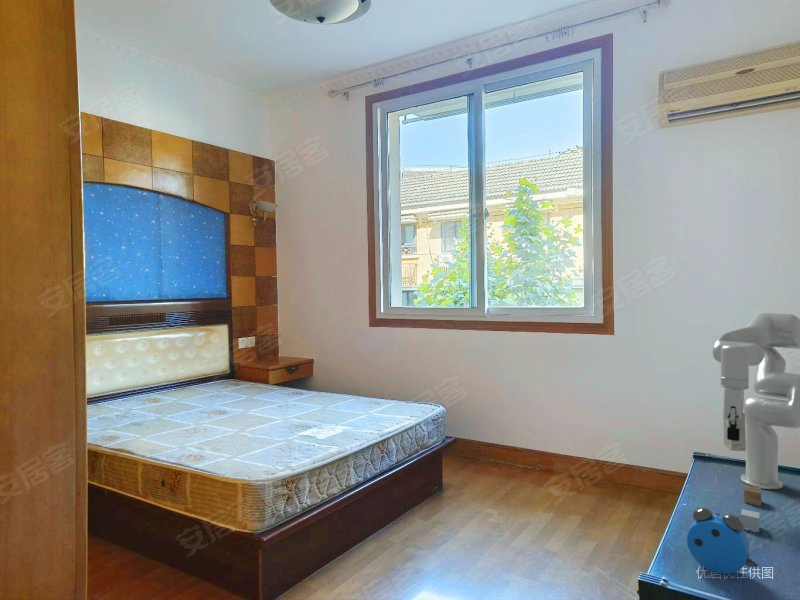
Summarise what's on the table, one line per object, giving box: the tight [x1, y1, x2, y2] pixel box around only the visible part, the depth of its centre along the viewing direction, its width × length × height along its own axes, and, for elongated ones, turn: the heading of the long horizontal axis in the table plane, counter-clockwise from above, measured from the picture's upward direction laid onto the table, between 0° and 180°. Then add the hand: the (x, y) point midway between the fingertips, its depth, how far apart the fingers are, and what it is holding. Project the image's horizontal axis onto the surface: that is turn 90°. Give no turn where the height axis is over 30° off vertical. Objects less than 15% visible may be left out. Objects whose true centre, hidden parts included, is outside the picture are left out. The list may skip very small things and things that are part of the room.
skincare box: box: [722, 408, 746, 452], centre depth 165 cm, size 6×4×12 cm
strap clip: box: [744, 553, 759, 568], centre depth 136 cm, size 8×3×4 cm, turn 179°
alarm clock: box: [686, 507, 750, 575], centre depth 131 cm, size 13×6×15 cm, turn 49°
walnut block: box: [743, 484, 762, 507], centre depth 170 cm, size 4×4×4 cm
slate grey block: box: [740, 508, 761, 533], centre depth 152 cm, size 4×4×4 cm
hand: (734, 436), depth 165 cm, fingers closed on skincare box, 7 cm apart
